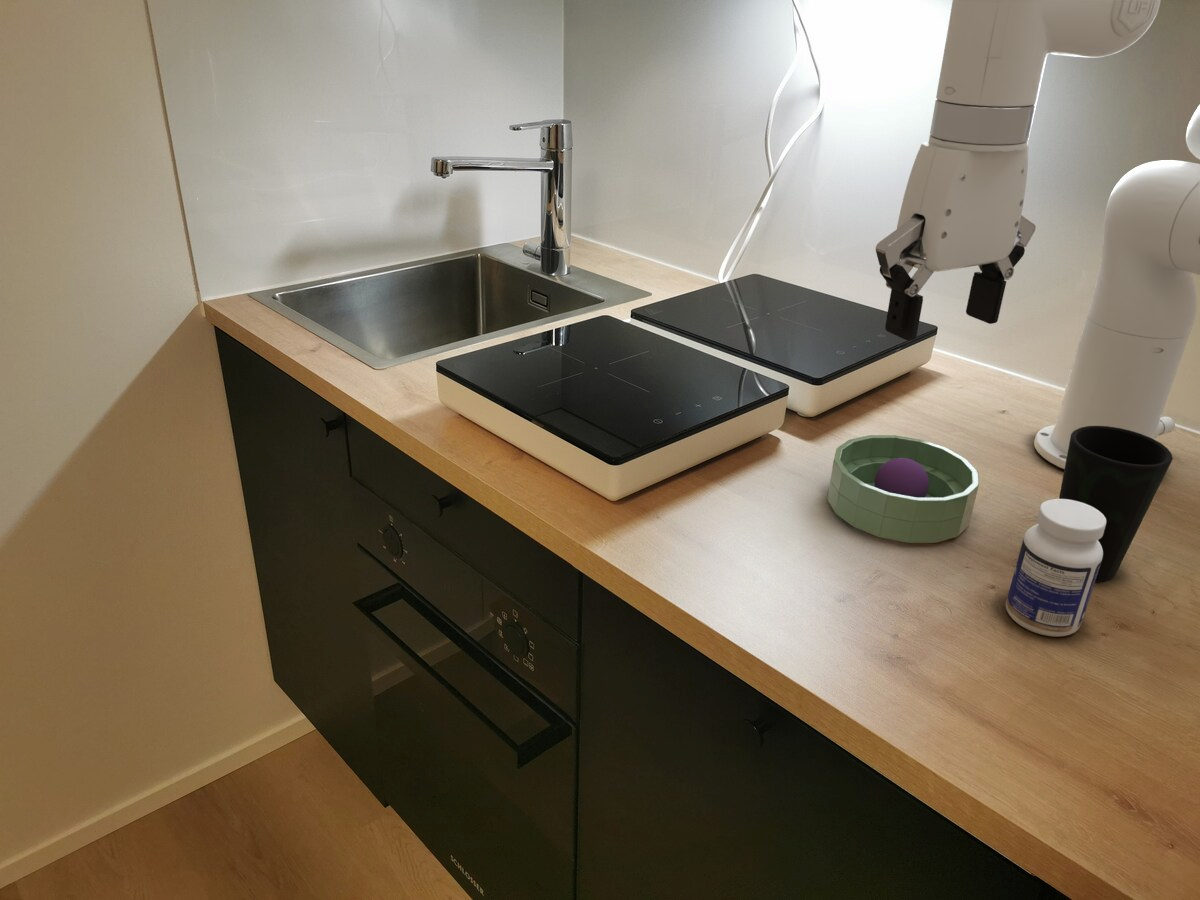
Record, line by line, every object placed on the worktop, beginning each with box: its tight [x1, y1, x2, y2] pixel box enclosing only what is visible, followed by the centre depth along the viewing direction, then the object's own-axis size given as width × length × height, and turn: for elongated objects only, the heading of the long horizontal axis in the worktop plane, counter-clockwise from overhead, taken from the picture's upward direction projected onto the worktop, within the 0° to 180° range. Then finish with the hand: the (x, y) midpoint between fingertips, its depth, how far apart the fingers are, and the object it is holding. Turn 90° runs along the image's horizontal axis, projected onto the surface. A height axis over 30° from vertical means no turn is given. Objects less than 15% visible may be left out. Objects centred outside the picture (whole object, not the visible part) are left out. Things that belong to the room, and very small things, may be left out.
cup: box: [1058, 426, 1174, 583], centre depth 79 cm, size 8×8×12 cm
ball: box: [875, 458, 929, 498], centre depth 88 cm, size 5×5×5 cm
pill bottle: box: [1005, 498, 1106, 638], centre depth 72 cm, size 6×6×10 cm
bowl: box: [826, 434, 980, 544], centre depth 88 cm, size 13×13×5 cm
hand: (941, 327), depth 81 cm, fingers open, 9 cm apart
